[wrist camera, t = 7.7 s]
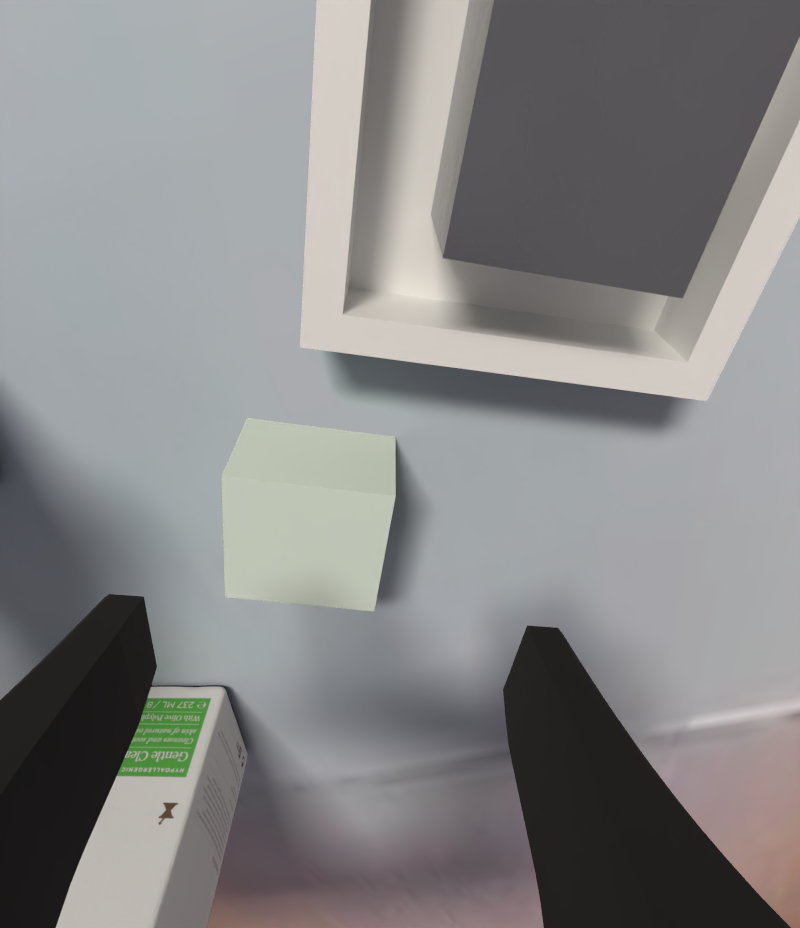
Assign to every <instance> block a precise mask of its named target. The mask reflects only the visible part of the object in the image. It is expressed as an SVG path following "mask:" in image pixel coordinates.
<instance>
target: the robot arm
mask: <svg viewBox="0 0 800 928" xmlns="http://www.w3.org/2000/svg"><path fill="white" fill-rule="evenodd" d="M156 668H157V665H156V660H155V655H154V649H153V644H152V639H151V633H150V628H149V623H148V618H147V612H146V607H145V602H144V597H139V596H126V595H113V594H109V595H108V596H106V597H105V598H104V599H103V600H102V601H101V602H100V603H99V604H98V605H97V606H96V607H95V608H94V609H93V610H92V611H91V612H90V613H89V614H88V615H87V616H86V617H85V618H84V619H83V620H82V621H81V622H80V623H79V624H78V625H77V626H76V627H75V628H74V629H73V630H72V631H71V632H70V633H69V634H68V635H67V636H66V637H65V638H64V639H63V640H62V641H61V642H60V643H59V644H58V645H57V646H56V647H55V648H54V649H53V650H52V651H51V652H50V653H49V654H48V655H47V656H46V657H45V658H44V659H43V660H42V661H41V662H40V663H39V664H38V665H37V666H36V667H35V668H34V669H33V670H32V671H31V672H30V673H29V674H27V675H26V676H25V677H24V678H23V679H22V680H21V681H20V682H19V683H18V684H17V685H16V686H15V687H14V688H13V689H12V690H11V691H10V692H9V693H8V694H6V695H5V696H4V697H3V698H2V699H1V700H0V928H56V925H57V922H58V920H59V917H60V914H61V911H62V908H63V905H64V902H65V899H66V896H67V893H68V890H69V887H70V885H71V882H72V879H73V877H74V874H75V872H76V869H77V867H78V864H79V862H80V859H81V857H82V854H83V852H84V850H85V847H86V845H87V843H88V840H89V838H90V836H91V834H92V831H93V829H94V827H95V824H96V822H97V820H98V818H99V815H100V813H101V811H102V808H103V806H104V804H105V802H106V799H107V797H108V795H109V792H110V790H111V788H112V786H113V783H114V781H115V779H116V776H117V774H118V772H119V770H120V767H121V765H122V763H123V760H124V758H125V756H126V753H127V751H128V749H129V746H130V744H131V742H132V739H133V737H134V735H135V732H136V730H137V728H138V725H139V723H140V720H141V717H142V714H143V711H144V707H145V704H146V701H147V698H148V695H149V691H150V688H151V685H152V681H153V678H154V675H155V671H156ZM503 692H504V703H505V715H506V725H507V734H508V743H509V749H510V754H511V759H512V764H513V768H514V773H515V778H516V783H517V788H518V792H519V797H520V802H521V807H522V811H523V816H524V821H525V825H526V830H527V835H528V839H529V844H530V849H531V854H532V858H533V863H534V868H535V872H536V878H537V884H538V889H539V895H540V901H541V908H542V916H543V924H544V928H791V927H790V926H789V925H788V924H787V923H786V922H785V921H784V920H783V919H782V918H781V917H780V916H779V915H778V914H777V913H776V912H775V911H774V910H773V909H772V908H771V907H770V906H769V905H768V904H767V903H766V902H765V901H764V900H763V899H762V897H761V896H760V895H759V894H758V893H757V892H756V891H755V890H754V889H753V888H752V887H751V885H750V884H749V883H748V882H747V881H746V880H745V879H744V878H743V877H742V875H741V874H740V873H739V872H738V871H737V870H736V869H735V868H734V866H733V865H732V864H731V863H730V862H729V861H728V860H727V859H726V858H725V856H724V855H723V854H722V853H721V852H720V851H719V849H718V848H717V847H716V846H715V845H714V843H713V842H712V841H711V840H710V839H709V838H708V836H707V835H706V834H705V833H704V832H703V831H702V829H701V828H700V827H699V826H698V825H697V823H696V822H695V821H694V820H693V818H692V817H691V816H690V815H689V814H688V812H687V811H686V810H685V809H684V807H683V806H682V805H681V804H680V802H679V801H678V800H677V799H676V797H675V796H674V795H673V793H672V792H671V791H670V789H669V788H668V787H667V786H666V784H665V783H664V782H663V780H662V779H661V778H660V776H659V775H658V774H657V772H656V771H655V770H654V769H653V767H652V766H651V765H650V763H649V762H648V760H647V759H646V758H645V756H644V755H643V754H642V752H641V751H640V750H639V748H638V747H637V745H636V744H635V743H634V741H633V740H632V738H631V737H630V735H629V734H628V733H627V731H626V730H625V728H624V727H623V725H622V724H621V723H620V721H619V720H618V718H617V717H616V715H615V714H614V713H613V711H612V710H611V708H610V707H609V705H608V704H607V702H606V701H605V699H604V698H603V696H602V695H601V693H600V692H599V690H598V689H597V687H596V685H595V684H594V682H593V681H592V679H591V678H590V676H589V675H588V673H587V672H586V670H585V669H584V667H583V665H582V664H581V662H580V661H579V659H578V658H577V656H576V654H575V653H574V651H573V650H572V648H571V646H570V645H569V643H568V642H567V640H566V639H565V637H564V635H563V634H562V632H561V631H560V630H559V629H558V628H551V627H538V626H527V628H526V630H525V633H524V636H523V638H522V641H521V644H520V646H519V649H518V652H517V654H516V657H515V660H514V662H513V665H512V668H511V671H510V673H509V676H508V679H507V681H506V684H505V687H504V689H503Z"/></svg>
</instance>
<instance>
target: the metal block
mask: <svg viewBox="0 0 800 928" xmlns="http://www.w3.org/2000/svg"><path fill="white" fill-rule="evenodd" d="M799 37H800V0H469V5H468V10H467V16H466V21H465V27H464V33H463V38H462V44H461V49H460V55H459V60H458V66H457V72H456V77H455V83H454V88H453V94H452V99H451V105H450V110H449V116H448V122H447V127H446V133H445V138H444V144H443V149H442V155H441V161H440V166H439V172H438V177H437V183H436V188H435V194H434V199H433V205H432V211H431V217H432V220H433V224H434V228H435V231H436V235H437V239H438V242H439V246H440V250H441V253H442V257H443V258H445V259H451V260H457V261H463V262H469V263H475V264H481V265H487V266H493V267H499V268H504V269H510V270H516V271H522V272H528V273H534V274H540V275H546V276H552V277H558V278H564V279H570V280H576V281H582V282H588V283H594V284H600V285H605V286H611V287H617V288H623V289H629V290H635V291H641V292H647V293H653V294H659V295H665V296H671V297H677V298H683V297H684V294H685V292H686V290H687V288H688V285H689V283H690V281H691V279H692V277H693V274H694V272H695V270H696V268H697V265H698V263H699V261H700V259H701V256H702V254H703V252H704V250H705V247H706V245H707V243H708V241H709V238H710V236H711V234H712V232H713V230H714V227H715V225H716V223H717V221H718V218H719V216H720V214H721V212H722V209H723V207H724V205H725V203H726V200H727V198H728V196H729V194H730V191H731V189H732V187H733V185H734V183H735V180H736V178H737V176H738V174H739V171H740V169H741V167H742V165H743V162H744V160H745V158H746V156H747V153H748V151H749V149H750V147H751V144H752V142H753V140H754V138H755V136H756V133H757V131H758V129H759V127H760V124H761V122H762V120H763V118H764V115H765V113H766V111H767V109H768V106H769V104H770V102H771V100H772V98H773V95H774V93H775V91H776V89H777V86H778V84H779V82H780V80H781V77H782V75H783V73H784V71H785V68H786V66H787V64H788V62H789V59H790V57H791V55H792V53H793V51H794V48H795V46H796V44H797V42H798V39H799Z"/></svg>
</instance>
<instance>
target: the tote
mask: <svg viewBox="0 0 800 928" xmlns="http://www.w3.org/2000/svg"><path fill="white" fill-rule="evenodd" d="M468 5H469V0H317V7H316V27H315V48H314V69H313V90H312V111H311V132H310V152H309V173H308V194H307V215H306V236H305V256H304V277H303V298H302V319H301V340H300V347H302V348H309V349H317V350H324V351H332V352H339V353H347V354H355V355H362V356H370V357H377V358H385V359H392V360H400V361H407V362H415V363H423V364H430V365H438V366H445V367H453V368H460V369H468V370H475V371H483V372H491V373H498V374H506V375H513V376H521V377H528V378H536V379H543V380H551V381H559V382H566V383H574V384H581V385H589V386H596V387H604V388H611V389H619V390H627V391H634V392H642V393H649V394H657V395H664V396H672V397H679V398H687V399H695V400H702V401H707V400H708V398H709V396H710V394H711V392H712V390H713V388H714V386H715V384H716V382H717V380H718V378H719V376H720V374H721V372H722V370H723V368H724V366H725V364H726V362H727V360H728V358H729V356H730V354H731V352H732V350H733V348H734V346H735V344H736V342H737V340H738V338H739V336H740V334H741V332H742V330H743V328H744V326H745V324H746V322H747V320H748V318H749V316H750V314H751V312H752V310H753V308H754V306H755V304H756V302H757V300H758V298H759V297H760V295H761V293H762V291H763V289H764V287H765V285H766V283H767V281H768V279H769V277H770V275H771V273H772V271H773V269H774V267H775V265H776V263H777V261H778V259H779V257H780V255H781V253H782V251H783V249H784V247H785V245H786V243H787V241H788V239H789V237H790V235H791V233H792V231H793V229H794V227H795V225H796V223H797V221H798V219H799V217H800V37H799V39H798V42H797V44H796V46H795V48H794V51H793V53H792V55H791V57H790V59H789V62H788V64H787V66H786V68H785V71H784V73H783V75H782V77H781V80H780V82H779V84H778V86H777V89H776V91H775V93H774V95H773V98H772V100H771V102H770V104H769V106H768V109H767V111H766V113H765V115H764V118H763V120H762V122H761V124H760V127H759V129H758V131H757V133H756V136H755V138H754V140H753V142H752V144H751V147H750V149H749V151H748V153H747V156H746V158H745V160H744V162H743V165H742V167H741V169H740V171H739V174H738V176H737V178H736V180H735V183H734V185H733V187H732V189H731V191H730V194H729V196H728V198H727V200H726V203H725V205H724V207H723V209H722V212H721V214H720V216H719V218H718V221H717V223H716V225H715V227H714V230H713V232H712V234H711V236H710V238H709V241H708V243H707V245H706V247H705V250H704V252H703V254H702V256H701V259H700V261H699V263H698V265H697V268H696V270H695V272H694V274H693V277H692V279H691V281H690V283H689V285H688V288H687V290H686V292H685V294H684V297H683V298H677V297H671V296H665V295H659V294H653V293H647V292H641V291H635V290H629V289H623V288H617V287H611V286H605V285H600V284H594V283H588V282H582V281H576V280H570V279H564V278H558V277H552V276H546V275H540V274H534V273H528V272H522V271H516V270H510V269H504V268H499V267H493V266H487V265H481V264H475V263H469V262H463V261H457V260H451V259H445V258H443V257H442V253H441V250H440V246H439V242H438V239H437V235H436V231H435V228H434V224H433V220H432V217H431V211H432V205H433V199H434V194H435V188H436V183H437V177H438V172H439V166H440V161H441V155H442V149H443V144H444V138H445V133H446V127H447V122H448V116H449V110H450V105H451V99H452V94H453V88H454V83H455V77H456V72H457V66H458V60H459V55H460V49H461V44H462V38H463V33H464V27H465V21H466V16H467V10H468Z"/></svg>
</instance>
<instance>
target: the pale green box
mask: <svg viewBox="0 0 800 928" xmlns="http://www.w3.org/2000/svg"><path fill="white" fill-rule="evenodd" d="M395 497H396V441H395V437H392V436H384V435H376V434H368V433H360V432H353V431H345V430H337V429H329V428H321V427H313V426H305V425H298V424H290V423H282V422H274V421H266V420H258V419H250V418H247V419H246V422H245V424H244V426H243V429H242V431H241V433H240V435H239V438H238V440H237V442H236V444H235V447H234V449H233V451H232V453H231V456H230V458H229V460H228V463H227V465H226V467H225V469H224V472H223V474H222V505H223V537H224V569H225V597H230V598H241V599H251V600H261V601H271V602H282V603H292V604H302V605H313V606H323V607H333V608H344V609H354V610H364V611H374V610H375V605H376V599H377V594H378V588H379V583H380V578H381V572H382V567H383V562H384V556H385V551H386V545H387V540H388V535H389V529H390V524H391V519H392V513H393V508H394V502H395Z"/></svg>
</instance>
